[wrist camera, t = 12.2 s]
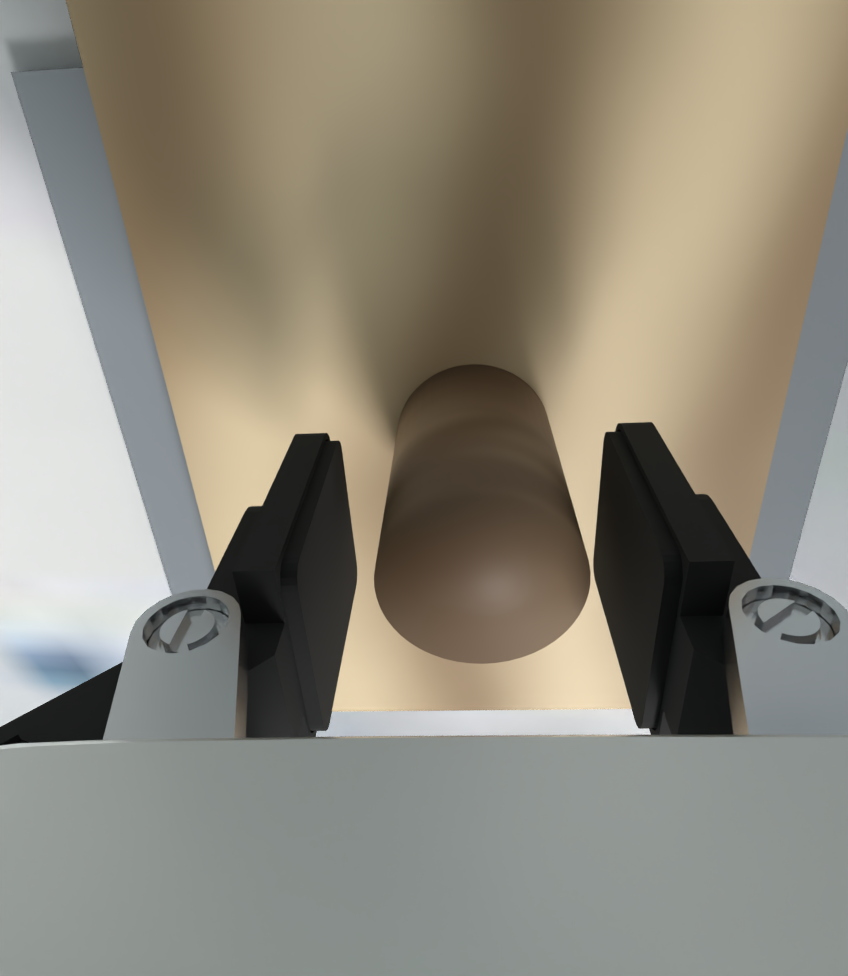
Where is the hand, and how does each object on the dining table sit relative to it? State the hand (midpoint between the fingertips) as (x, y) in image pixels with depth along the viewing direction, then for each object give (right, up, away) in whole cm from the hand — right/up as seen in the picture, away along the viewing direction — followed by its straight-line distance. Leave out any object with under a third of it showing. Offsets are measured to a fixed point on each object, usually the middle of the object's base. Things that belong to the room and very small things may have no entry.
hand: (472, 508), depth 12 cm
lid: (0, +2, +3) cm, 4 cm away
